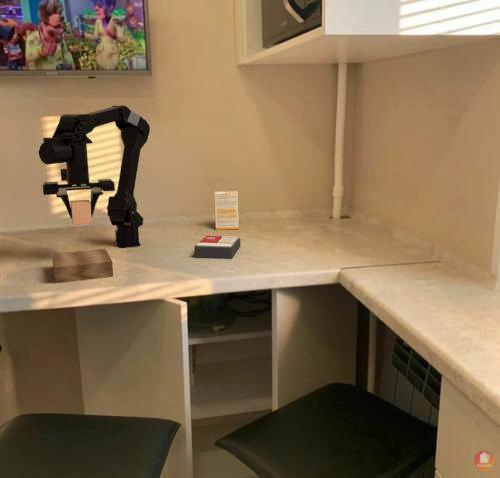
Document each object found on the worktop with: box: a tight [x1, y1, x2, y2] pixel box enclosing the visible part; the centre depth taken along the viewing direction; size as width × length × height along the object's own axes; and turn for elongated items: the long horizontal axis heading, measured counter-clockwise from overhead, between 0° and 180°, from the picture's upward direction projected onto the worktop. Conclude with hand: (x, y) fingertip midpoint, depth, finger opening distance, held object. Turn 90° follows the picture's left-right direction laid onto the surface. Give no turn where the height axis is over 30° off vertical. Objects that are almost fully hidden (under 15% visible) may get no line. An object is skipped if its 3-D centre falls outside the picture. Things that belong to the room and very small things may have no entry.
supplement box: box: [213, 190, 240, 231], centre depth 193 cm, size 8×5×13 cm, turn 93°
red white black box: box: [193, 235, 241, 260], centre depth 163 cm, size 11×4×15 cm
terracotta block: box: [69, 199, 93, 226], centre depth 154 cm, size 5×5×6 cm
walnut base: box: [51, 248, 114, 284], centre depth 144 cm, size 14×14×4 cm
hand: (81, 217), depth 154 cm, fingers closed on terracotta block, 5 cm apart
